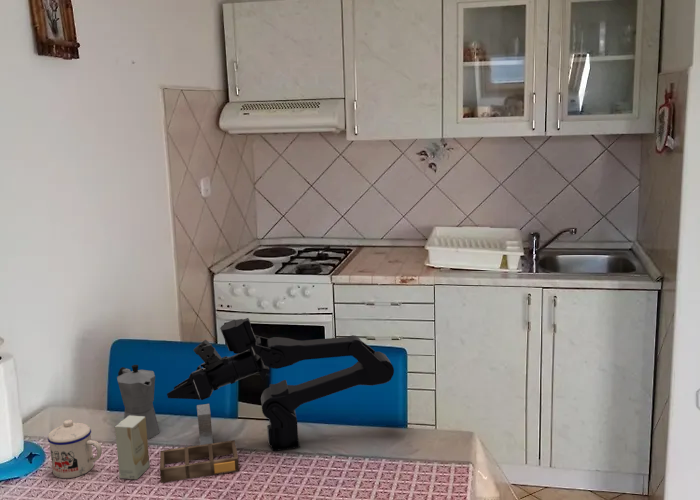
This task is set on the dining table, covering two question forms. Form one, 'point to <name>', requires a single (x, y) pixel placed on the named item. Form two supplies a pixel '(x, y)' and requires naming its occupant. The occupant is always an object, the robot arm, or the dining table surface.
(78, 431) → the teacup with lid
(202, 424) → the grey metallic rectangular block
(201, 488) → the dining table surface
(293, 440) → the robot arm
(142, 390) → the coffeepot
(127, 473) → the skincare box
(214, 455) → the rack
